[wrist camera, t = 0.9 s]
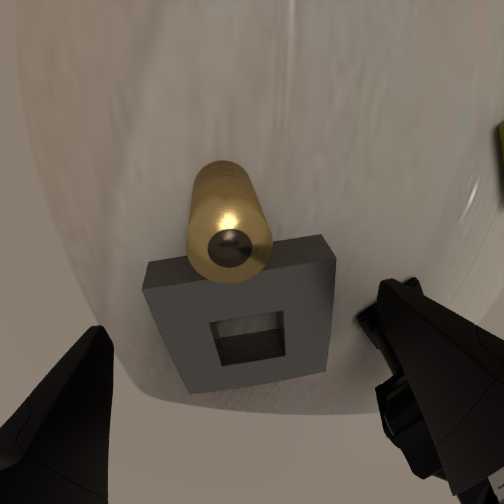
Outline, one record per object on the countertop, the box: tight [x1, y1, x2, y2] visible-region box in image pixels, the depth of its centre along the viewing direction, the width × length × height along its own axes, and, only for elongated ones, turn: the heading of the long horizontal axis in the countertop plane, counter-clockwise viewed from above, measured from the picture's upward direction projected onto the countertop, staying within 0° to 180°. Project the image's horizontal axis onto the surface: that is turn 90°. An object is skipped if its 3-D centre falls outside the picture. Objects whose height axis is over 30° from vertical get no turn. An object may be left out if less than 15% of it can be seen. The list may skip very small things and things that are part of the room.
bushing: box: [186, 161, 273, 283], centre depth 15 cm, size 4×4×7 cm
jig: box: [142, 234, 336, 394], centre depth 22 cm, size 12×12×3 cm
